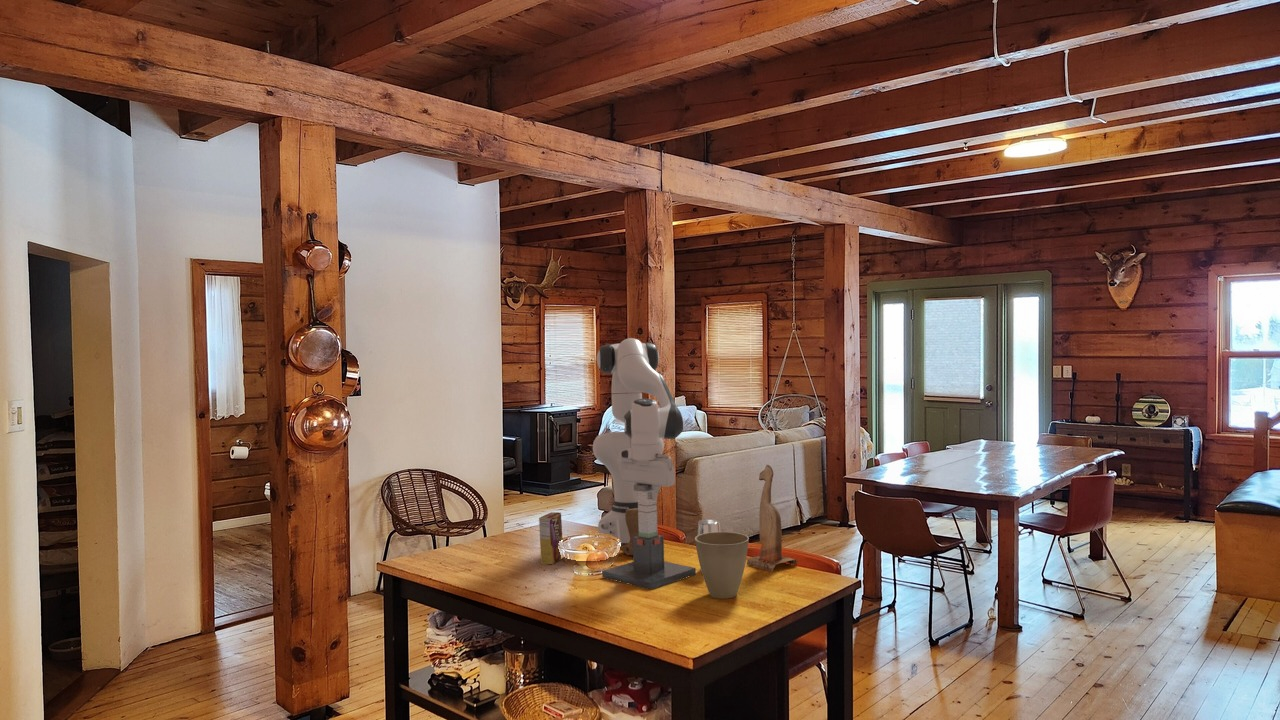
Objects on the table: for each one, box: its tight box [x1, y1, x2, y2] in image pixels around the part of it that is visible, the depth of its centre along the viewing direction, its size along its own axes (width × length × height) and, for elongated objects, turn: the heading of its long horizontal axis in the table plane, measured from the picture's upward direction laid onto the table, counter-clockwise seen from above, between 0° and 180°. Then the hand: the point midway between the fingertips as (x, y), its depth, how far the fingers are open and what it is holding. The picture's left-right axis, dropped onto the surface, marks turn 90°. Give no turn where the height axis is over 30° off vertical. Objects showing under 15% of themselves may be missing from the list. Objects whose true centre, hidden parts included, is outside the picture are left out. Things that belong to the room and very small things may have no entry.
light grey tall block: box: [634, 484, 659, 539], centre depth 248 cm, size 4×7×19 cm, turn 136°
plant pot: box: [694, 531, 750, 600], centre depth 227 cm, size 15×15×16 cm
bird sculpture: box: [746, 464, 798, 573], centre depth 257 cm, size 11×12×32 cm
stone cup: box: [620, 508, 639, 556], centre depth 279 cm, size 15×12×15 cm
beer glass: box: [697, 518, 722, 571], centre depth 254 cm, size 7×7×15 cm
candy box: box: [538, 511, 563, 565], centre depth 269 cm, size 9×4×15 cm, turn 160°
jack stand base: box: [601, 534, 697, 591], centre depth 248 cm, size 20×20×12 cm
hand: (647, 498), depth 248 cm, fingers closed on light grey tall block, 4 cm apart
